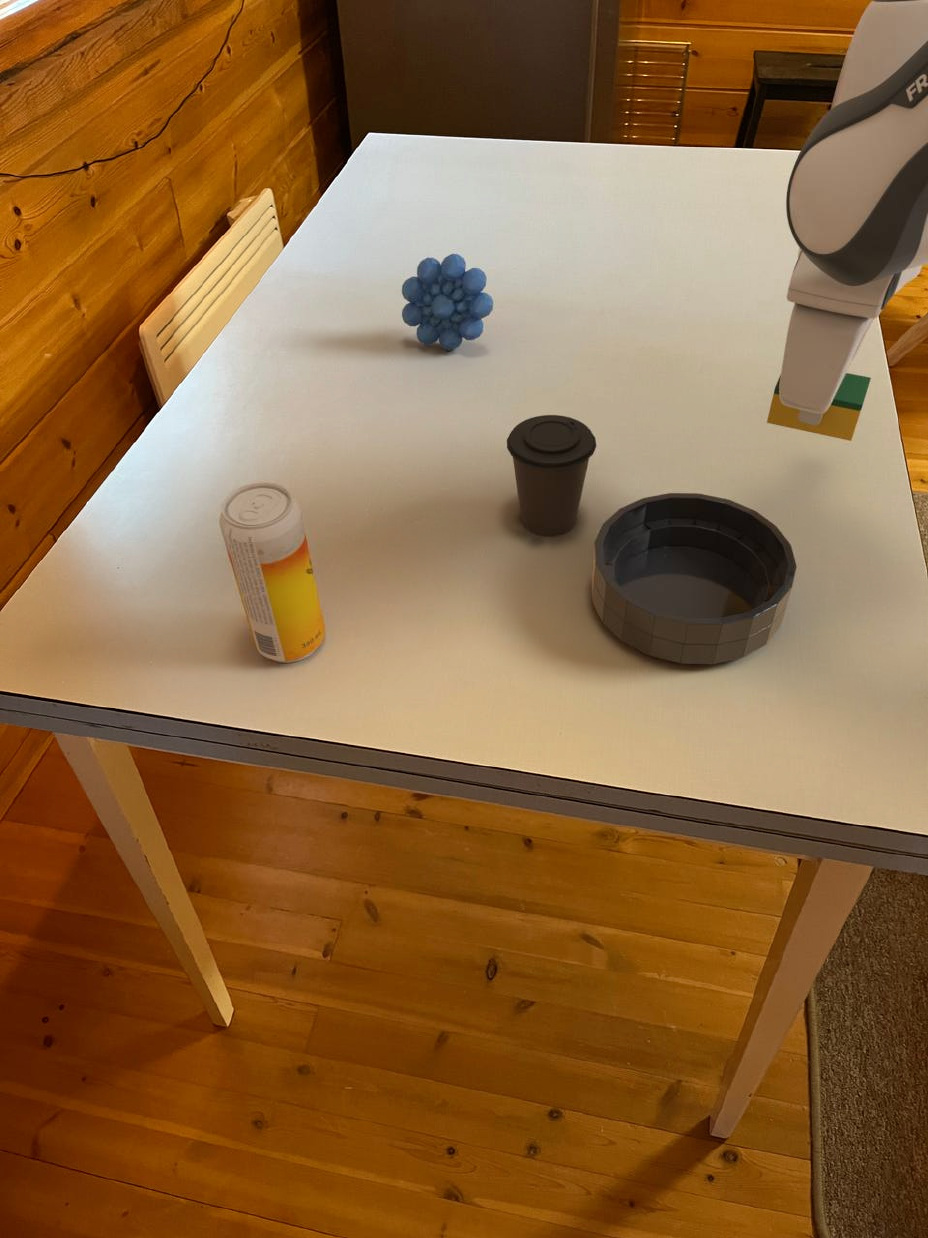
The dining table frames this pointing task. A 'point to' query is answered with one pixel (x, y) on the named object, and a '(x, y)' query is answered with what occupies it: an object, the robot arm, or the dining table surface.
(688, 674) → the dining table surface
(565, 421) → the coffee cup
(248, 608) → the beer can
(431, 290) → the blue knobbed flower
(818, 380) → the robot arm
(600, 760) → the dining table surface
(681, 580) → the bowl
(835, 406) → the sponge
